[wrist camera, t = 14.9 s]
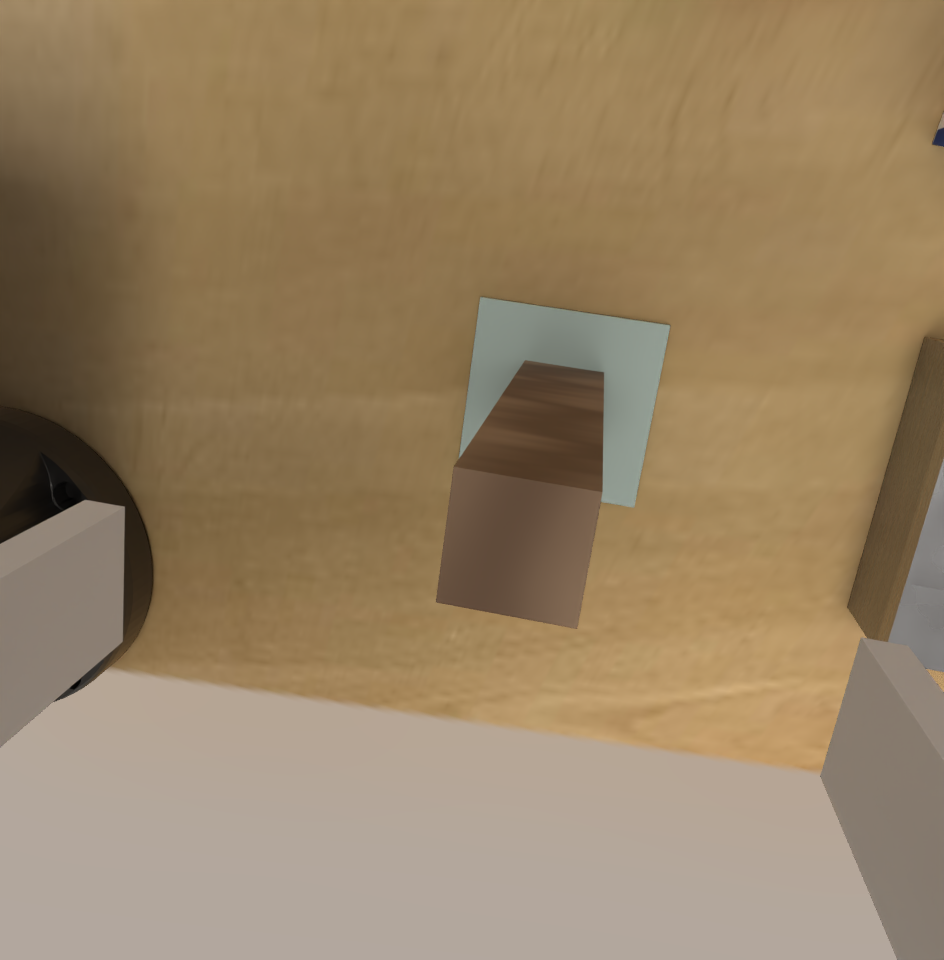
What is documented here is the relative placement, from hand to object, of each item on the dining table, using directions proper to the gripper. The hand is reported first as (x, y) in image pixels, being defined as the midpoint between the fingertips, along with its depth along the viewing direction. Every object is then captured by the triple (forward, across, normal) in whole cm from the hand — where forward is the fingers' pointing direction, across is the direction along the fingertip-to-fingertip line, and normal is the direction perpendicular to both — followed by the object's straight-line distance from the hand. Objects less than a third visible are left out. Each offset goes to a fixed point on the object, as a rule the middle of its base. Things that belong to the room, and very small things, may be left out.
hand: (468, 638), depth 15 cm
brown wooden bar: (+23, +1, 0) cm, 23 cm away
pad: (+23, +1, 0) cm, 23 cm away
